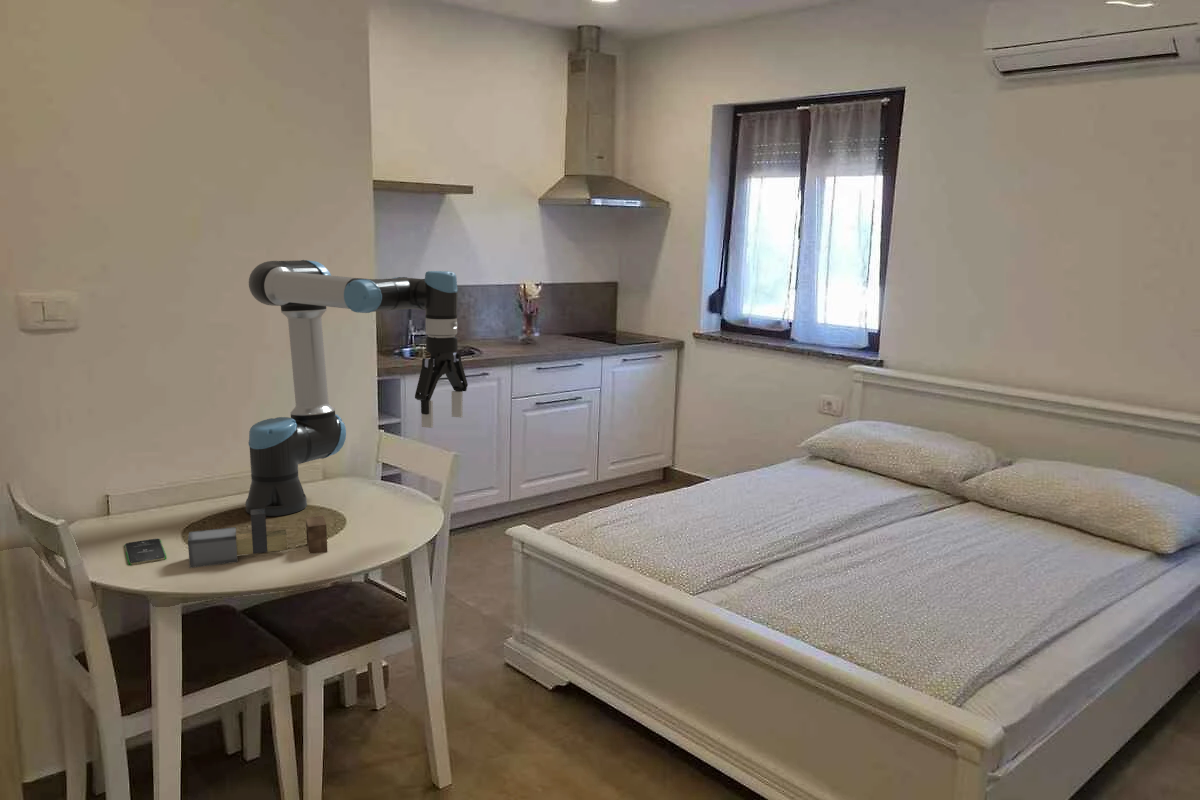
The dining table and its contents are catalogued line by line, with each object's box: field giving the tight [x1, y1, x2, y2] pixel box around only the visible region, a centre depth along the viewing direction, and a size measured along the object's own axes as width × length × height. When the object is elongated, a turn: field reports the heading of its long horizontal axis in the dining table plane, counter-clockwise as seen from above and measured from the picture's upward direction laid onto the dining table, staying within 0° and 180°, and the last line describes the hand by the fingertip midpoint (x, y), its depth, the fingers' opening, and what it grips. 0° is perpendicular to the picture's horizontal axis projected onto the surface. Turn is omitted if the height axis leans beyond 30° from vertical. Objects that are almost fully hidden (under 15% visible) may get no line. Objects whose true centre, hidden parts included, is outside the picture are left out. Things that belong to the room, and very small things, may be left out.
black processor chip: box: [123, 538, 167, 566], centre depth 194 cm, size 8×1×15 cm
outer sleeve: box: [187, 527, 238, 569], centre depth 190 cm, size 10×6×6 cm
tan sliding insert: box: [236, 508, 288, 556], centre depth 192 cm, size 18×4×9 cm, turn 113°
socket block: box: [305, 515, 328, 555], centre depth 198 cm, size 4×7×6 cm, turn 23°
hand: (442, 422), depth 211 cm, fingers open, 13 cm apart
